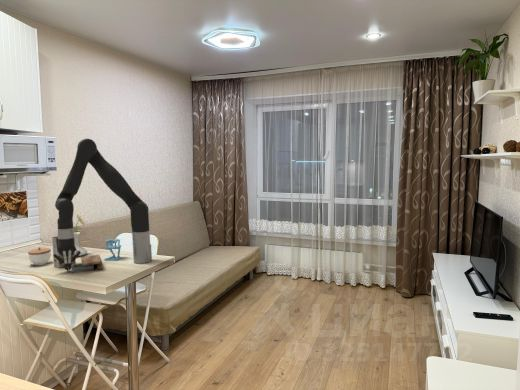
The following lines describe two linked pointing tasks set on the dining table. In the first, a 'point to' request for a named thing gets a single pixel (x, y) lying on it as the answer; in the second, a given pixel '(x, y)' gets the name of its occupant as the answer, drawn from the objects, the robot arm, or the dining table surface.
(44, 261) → the lidded jar
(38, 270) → the dining table surface
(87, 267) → the dark grey flat block
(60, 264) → the coffee box
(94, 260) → the light brown rounded block
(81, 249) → the flower in vase
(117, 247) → the chair
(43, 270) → the dining table surface
